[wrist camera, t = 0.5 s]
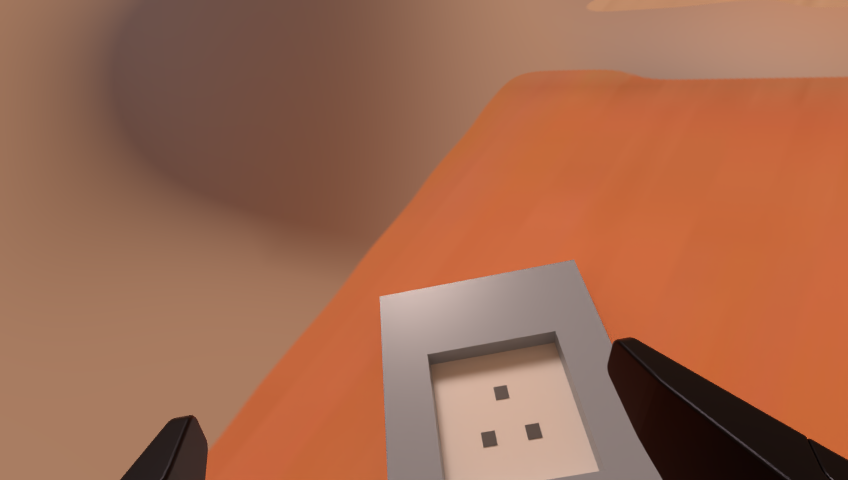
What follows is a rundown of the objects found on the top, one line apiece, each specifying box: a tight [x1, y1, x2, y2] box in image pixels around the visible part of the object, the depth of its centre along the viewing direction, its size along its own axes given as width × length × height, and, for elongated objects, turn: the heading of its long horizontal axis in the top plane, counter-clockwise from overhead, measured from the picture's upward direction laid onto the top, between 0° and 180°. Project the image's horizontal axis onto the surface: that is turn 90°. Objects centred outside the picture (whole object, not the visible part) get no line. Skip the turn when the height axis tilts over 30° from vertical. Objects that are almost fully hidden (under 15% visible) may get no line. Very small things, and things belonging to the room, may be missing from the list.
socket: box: [380, 260, 662, 480], centre depth 23 cm, size 16×12×2 cm
